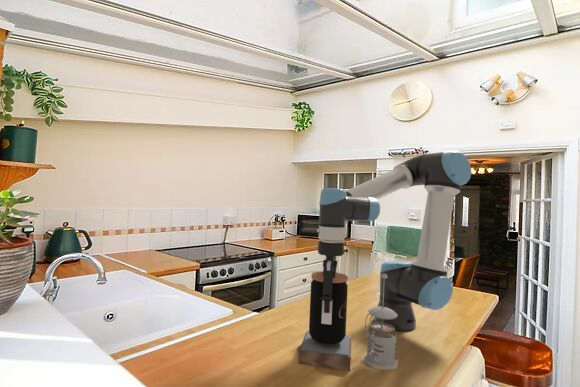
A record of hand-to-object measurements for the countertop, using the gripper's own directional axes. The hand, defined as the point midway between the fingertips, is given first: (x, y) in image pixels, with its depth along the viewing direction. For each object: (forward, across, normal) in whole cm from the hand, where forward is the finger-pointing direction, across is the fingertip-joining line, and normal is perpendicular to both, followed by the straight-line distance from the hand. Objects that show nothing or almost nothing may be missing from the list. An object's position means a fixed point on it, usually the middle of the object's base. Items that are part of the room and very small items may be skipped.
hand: (327, 316), depth 99 cm
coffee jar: (+6, 0, 0) cm, 6 cm away
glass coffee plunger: (+12, -2, +15) cm, 19 cm away
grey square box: (+11, 0, 0) cm, 11 cm away
